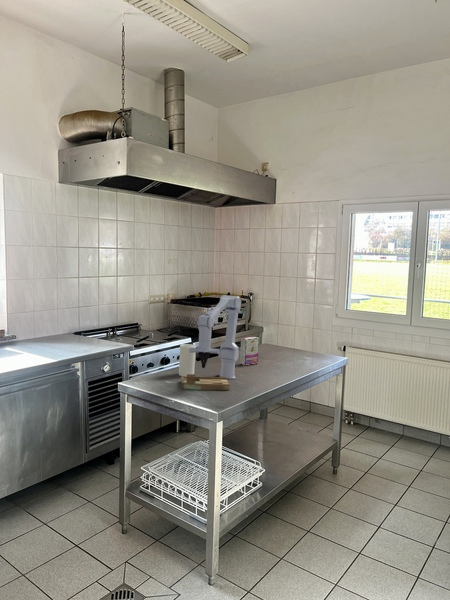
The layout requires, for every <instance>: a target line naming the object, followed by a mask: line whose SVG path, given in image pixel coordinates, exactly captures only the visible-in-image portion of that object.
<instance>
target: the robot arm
mask: <svg viewBox="0 0 450 600" xmlns="http://www.w3.org/2000/svg"><path fill="white" fill-rule="evenodd" d="M241 309H242V300H241V297H240V296H239V295H237V296H236V295H235V296H234V295H225V294H222V295H221V297H220V298H219V302H218V303H217V304H216V306H213V307H212V306H211V307H210V308H209V309H208V311H206V313H204V314H200V315H199V316H198V318H197V322H196V323H197V326H198V331H199V333H198V347H195V348H189V353H195V354H198V356H199V358H200V362H201V368H202V369H206V364H207V362H208V359H209V358H210V355H211V354H218V357H219V359H220V361H221V365H220V367H221V369H220V372H218V373H219V377H227V380H228V379H230V380H235V379H237V378H236V376H235V370H236V369H235V368H236V362H237V361H238V359H239V357H240V347H239V346H238V345H237V344H236V343H235V341H236V332H237V324H238V317H239V313H240V312H241ZM224 310H225V311H227V314H228V315H227V323H226V331H225V340H224V342H223V343H221V344H220V348H212V347H211V344H212V343H211V342H212V341H211V339H212V337H211V336H212V328H213V327H214V325H215V322H216V320H217V319H218V318H219V317H220V316H221V312H223V311H224Z"/></svg>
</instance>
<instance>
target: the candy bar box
mask: <svg viewBox="0 0 450 600" xmlns="http://www.w3.org/2000/svg"><path fill="white" fill-rule="evenodd" d="M259 345H260V337H256V336H250V337H249V336H248V337H241V338H240V351H239V357H240V359H239V364H240V363H241V364H245V365H246V364H251V363H256V362H258V363H259V348H260V347H259Z"/></svg>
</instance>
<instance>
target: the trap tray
mask: <svg viewBox="0 0 450 600" xmlns="http://www.w3.org/2000/svg"><path fill="white" fill-rule="evenodd" d="M180 383H181V384H180V385H181V390H198V391H200V390H202V391H203V390H204V391H205V390H206V391H208V390H210V391H230V389H231V384H230V383H229V381H228V379H227V377H220V376H196V379H195V383H187V376H181V381H180Z"/></svg>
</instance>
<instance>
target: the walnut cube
mask: <svg viewBox="0 0 450 600" xmlns="http://www.w3.org/2000/svg"><path fill="white" fill-rule="evenodd" d="M196 377H197V376H196V374H195V373H194V374H187V383H195V379H196Z"/></svg>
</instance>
